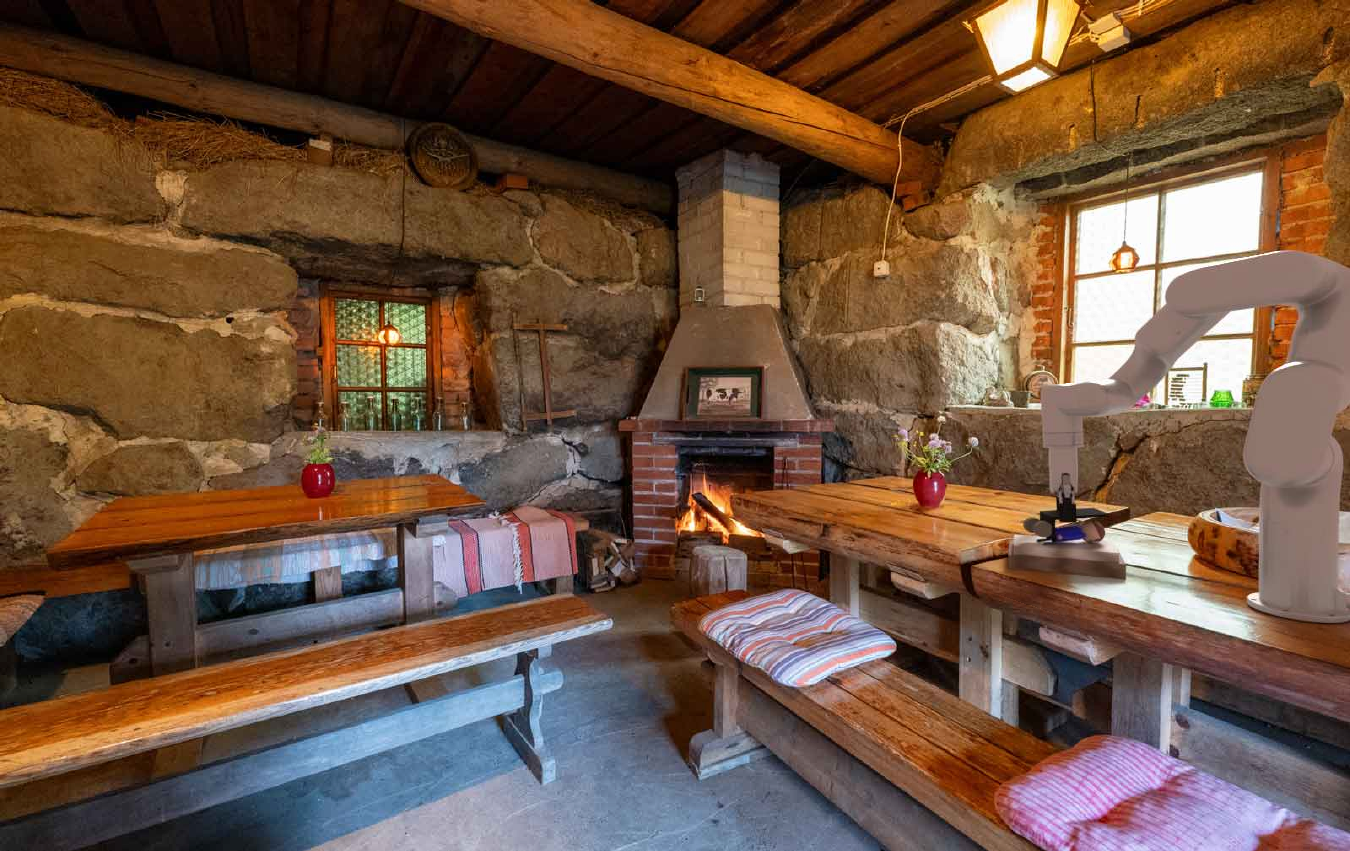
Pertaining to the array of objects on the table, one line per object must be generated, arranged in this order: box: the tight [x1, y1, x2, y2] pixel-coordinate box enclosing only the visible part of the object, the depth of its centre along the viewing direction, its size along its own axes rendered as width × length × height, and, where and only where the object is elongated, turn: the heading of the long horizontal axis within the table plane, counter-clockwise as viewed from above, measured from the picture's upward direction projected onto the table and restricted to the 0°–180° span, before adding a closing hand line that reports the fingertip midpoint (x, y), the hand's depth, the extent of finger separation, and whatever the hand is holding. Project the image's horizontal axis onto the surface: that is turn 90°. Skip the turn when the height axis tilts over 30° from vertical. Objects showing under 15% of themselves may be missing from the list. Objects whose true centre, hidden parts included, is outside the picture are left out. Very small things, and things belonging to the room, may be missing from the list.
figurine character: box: [1022, 507, 1110, 545], centre depth 136 cm, size 7×8×15 cm
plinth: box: [1008, 534, 1127, 580], centre depth 136 cm, size 21×13×5 cm, turn 60°
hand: (1066, 518), depth 135 cm, fingers open, 9 cm apart
